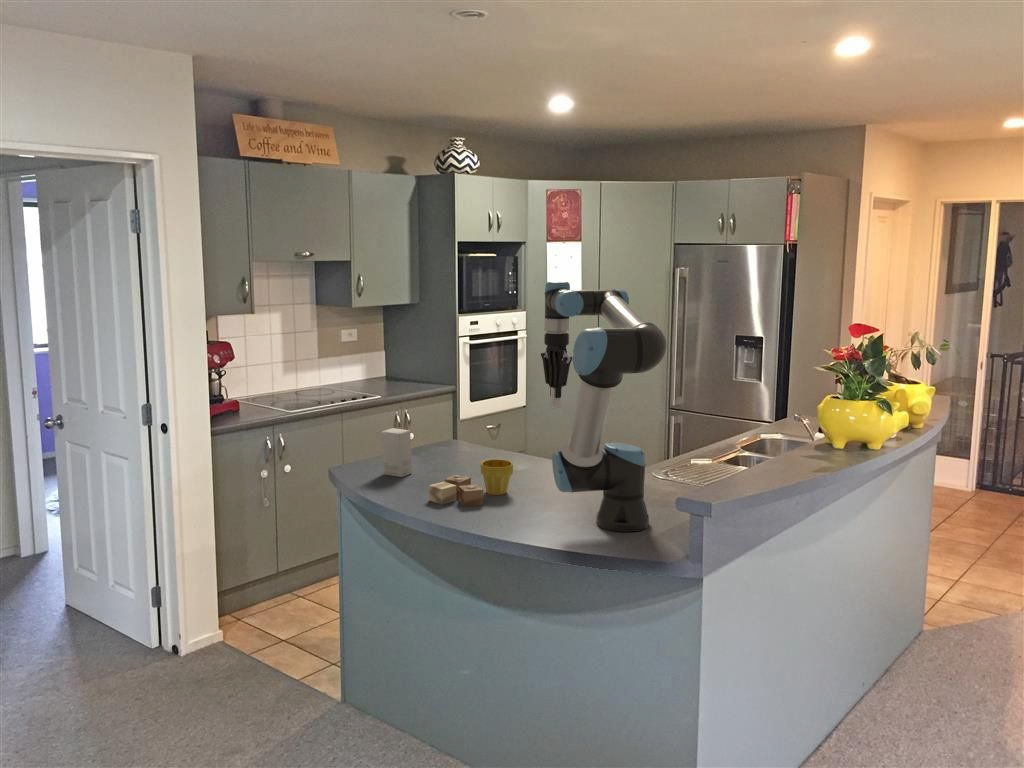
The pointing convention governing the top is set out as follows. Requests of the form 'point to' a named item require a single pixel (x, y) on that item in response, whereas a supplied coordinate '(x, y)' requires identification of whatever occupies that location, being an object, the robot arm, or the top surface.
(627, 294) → the robot arm
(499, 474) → the plant pot
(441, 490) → the plain block
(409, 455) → the skincare box
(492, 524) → the top surface
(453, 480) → the marked block
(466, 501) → the marked block
